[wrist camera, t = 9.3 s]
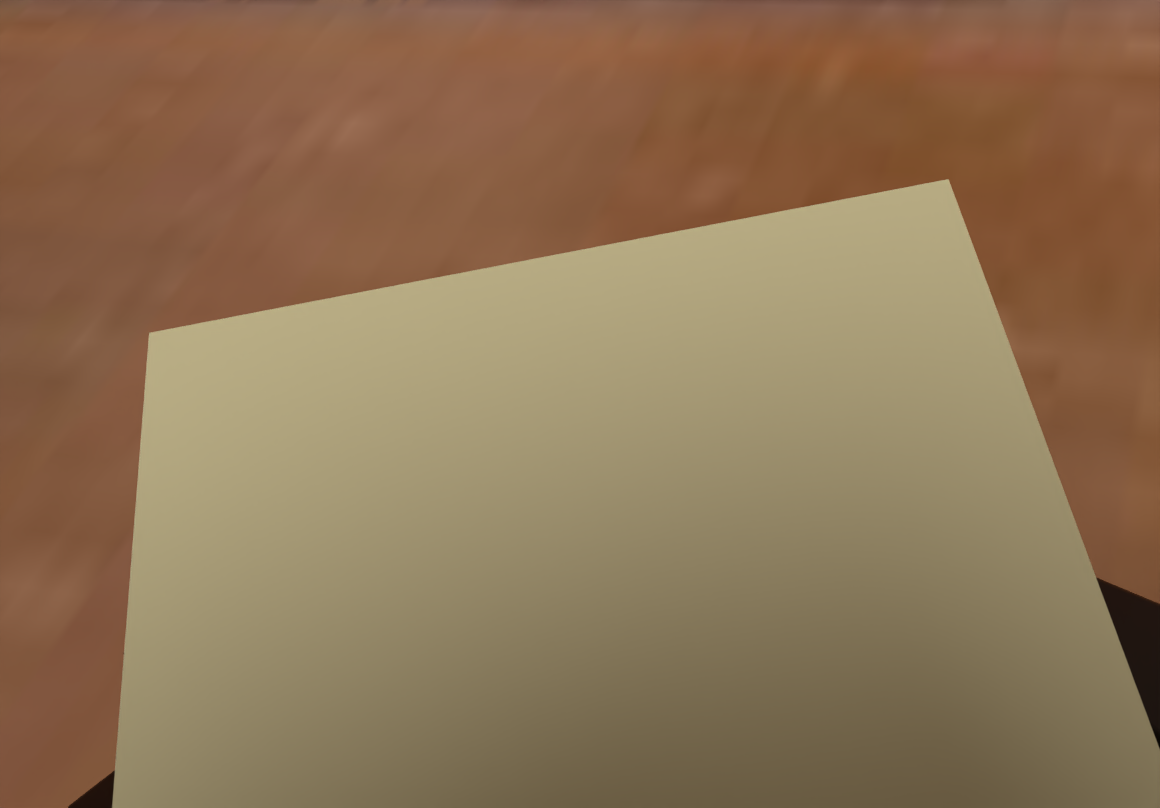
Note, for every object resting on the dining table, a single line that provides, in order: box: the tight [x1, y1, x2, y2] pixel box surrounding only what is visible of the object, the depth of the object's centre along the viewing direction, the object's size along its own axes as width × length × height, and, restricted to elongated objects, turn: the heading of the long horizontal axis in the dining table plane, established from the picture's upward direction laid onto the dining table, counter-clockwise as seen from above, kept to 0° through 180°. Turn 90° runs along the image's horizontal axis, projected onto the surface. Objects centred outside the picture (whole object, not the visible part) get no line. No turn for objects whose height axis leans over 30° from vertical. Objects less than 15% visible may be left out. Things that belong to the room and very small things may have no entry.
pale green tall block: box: [112, 179, 1160, 808], centre depth 9 cm, size 5×5×11 cm
